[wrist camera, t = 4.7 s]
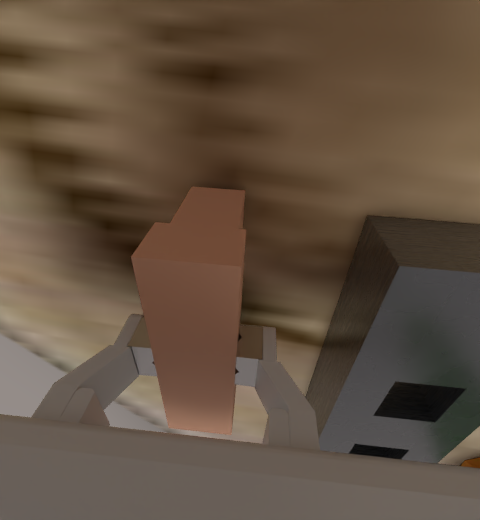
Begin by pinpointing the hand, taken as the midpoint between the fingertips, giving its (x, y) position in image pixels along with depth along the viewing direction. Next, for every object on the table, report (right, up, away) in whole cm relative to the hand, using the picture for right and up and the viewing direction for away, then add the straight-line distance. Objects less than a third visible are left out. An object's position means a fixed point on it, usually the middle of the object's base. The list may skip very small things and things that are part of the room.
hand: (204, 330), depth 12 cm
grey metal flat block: (+11, -5, +8) cm, 14 cm away
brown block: (0, +2, +3) cm, 4 cm away
